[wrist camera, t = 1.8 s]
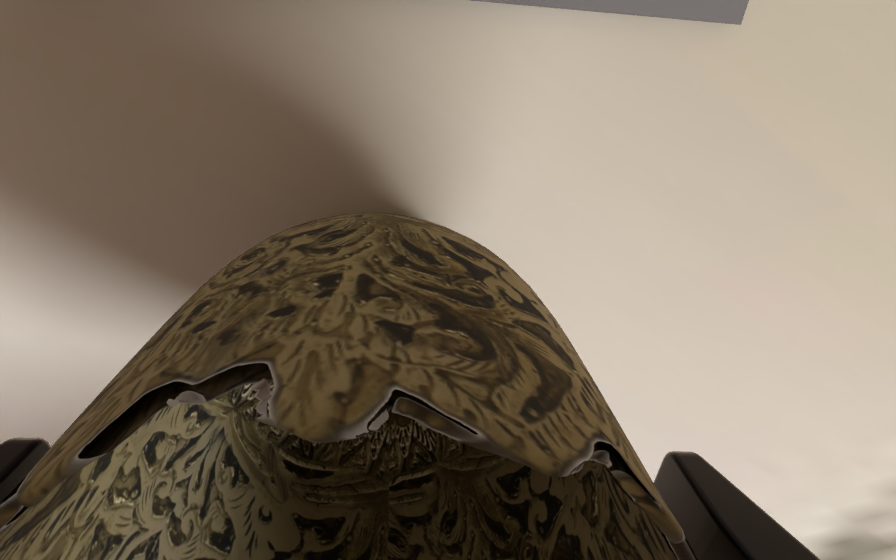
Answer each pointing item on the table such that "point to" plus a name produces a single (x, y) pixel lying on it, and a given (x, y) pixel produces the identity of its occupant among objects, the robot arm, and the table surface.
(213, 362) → the cup
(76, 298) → the table surface
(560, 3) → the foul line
